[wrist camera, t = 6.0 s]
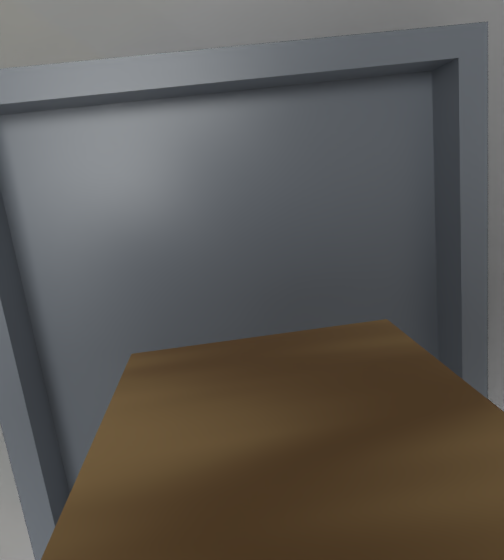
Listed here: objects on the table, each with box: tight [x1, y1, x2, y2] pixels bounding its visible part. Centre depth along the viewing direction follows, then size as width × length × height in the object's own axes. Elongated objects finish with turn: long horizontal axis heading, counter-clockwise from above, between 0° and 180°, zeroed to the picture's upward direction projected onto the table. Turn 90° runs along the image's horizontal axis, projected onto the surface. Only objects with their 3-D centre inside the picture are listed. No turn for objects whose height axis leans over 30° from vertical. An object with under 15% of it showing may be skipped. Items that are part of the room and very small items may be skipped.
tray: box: [0, 22, 488, 560], centre depth 18 cm, size 18×18×2 cm
